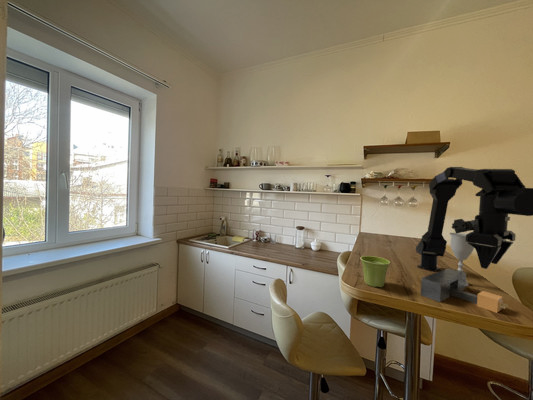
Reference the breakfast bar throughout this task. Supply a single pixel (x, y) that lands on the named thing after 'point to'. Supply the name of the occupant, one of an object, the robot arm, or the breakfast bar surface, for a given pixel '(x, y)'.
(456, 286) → the block
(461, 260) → the chalice
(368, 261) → the plant pot
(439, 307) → the breakfast bar surface
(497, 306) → the plug
